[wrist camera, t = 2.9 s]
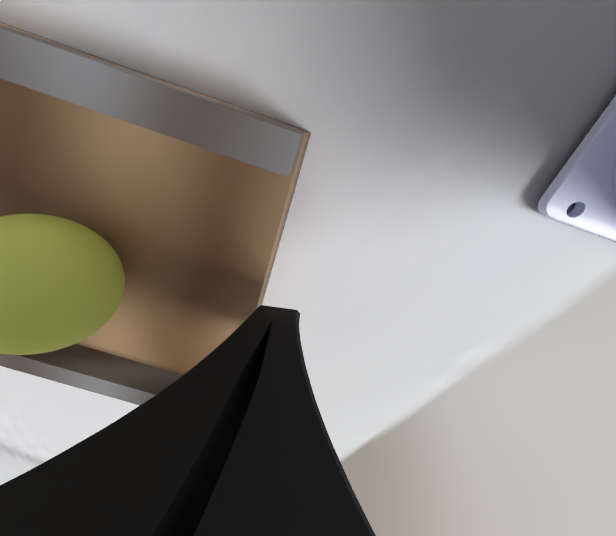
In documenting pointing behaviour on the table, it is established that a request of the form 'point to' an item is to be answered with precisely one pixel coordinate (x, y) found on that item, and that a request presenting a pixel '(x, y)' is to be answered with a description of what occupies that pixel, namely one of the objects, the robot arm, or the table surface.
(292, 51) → the table surface
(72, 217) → the wooden tray
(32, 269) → the ball
